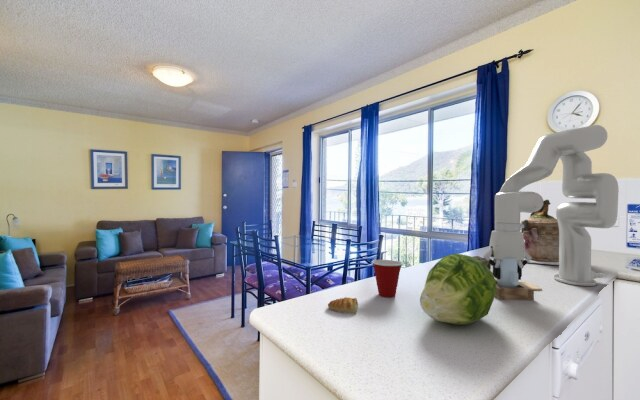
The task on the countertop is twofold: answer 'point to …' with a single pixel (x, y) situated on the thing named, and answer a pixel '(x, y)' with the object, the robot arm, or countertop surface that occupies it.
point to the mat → (531, 286)
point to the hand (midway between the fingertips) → (507, 277)
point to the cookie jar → (541, 236)
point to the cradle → (515, 292)
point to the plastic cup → (387, 276)
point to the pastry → (344, 305)
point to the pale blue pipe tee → (508, 273)
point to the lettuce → (458, 290)
